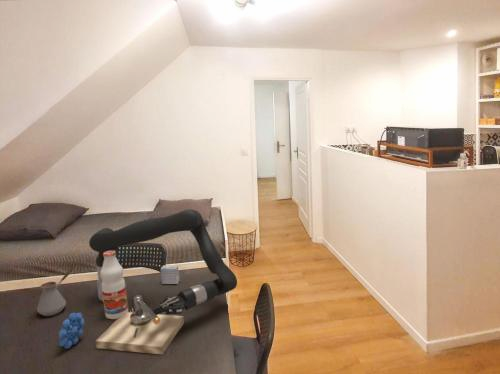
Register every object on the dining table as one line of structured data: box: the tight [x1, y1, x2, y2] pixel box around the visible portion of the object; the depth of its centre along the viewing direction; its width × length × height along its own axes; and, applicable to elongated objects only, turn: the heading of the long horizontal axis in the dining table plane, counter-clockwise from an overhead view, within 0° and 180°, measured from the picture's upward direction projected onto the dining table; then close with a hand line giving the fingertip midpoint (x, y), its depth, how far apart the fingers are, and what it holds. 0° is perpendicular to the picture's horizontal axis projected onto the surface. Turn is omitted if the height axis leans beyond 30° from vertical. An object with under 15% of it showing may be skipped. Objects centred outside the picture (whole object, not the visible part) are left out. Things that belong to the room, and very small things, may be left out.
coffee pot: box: [36, 266, 76, 317], centre depth 163 cm, size 21×12×15 cm, turn 162°
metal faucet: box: [130, 294, 160, 325], centre depth 136 cm, size 23×8×9 cm, turn 36°
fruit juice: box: [100, 250, 129, 320], centre depth 152 cm, size 9×9×28 cm
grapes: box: [58, 312, 85, 350], centre depth 134 cm, size 12×7×12 cm, turn 161°
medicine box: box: [160, 264, 180, 285], centre depth 181 cm, size 8×4×9 cm, turn 84°
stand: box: [95, 311, 185, 355], centre depth 138 cm, size 26×20×3 cm
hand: (151, 312), depth 133 cm, fingers closed
